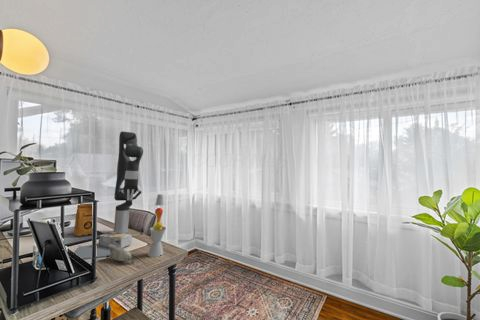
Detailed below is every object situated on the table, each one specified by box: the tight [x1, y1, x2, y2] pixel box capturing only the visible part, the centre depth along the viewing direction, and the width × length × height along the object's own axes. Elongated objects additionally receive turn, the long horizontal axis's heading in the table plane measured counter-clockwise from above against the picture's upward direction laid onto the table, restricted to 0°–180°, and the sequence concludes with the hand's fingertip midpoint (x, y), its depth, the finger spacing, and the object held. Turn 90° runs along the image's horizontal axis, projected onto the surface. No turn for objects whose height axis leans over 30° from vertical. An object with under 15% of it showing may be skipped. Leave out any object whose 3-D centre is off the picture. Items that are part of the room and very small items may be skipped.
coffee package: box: [73, 203, 93, 237], centre depth 151 cm, size 10×12×22 cm
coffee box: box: [98, 231, 133, 249], centre depth 134 cm, size 9×6×16 cm
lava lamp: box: [147, 193, 167, 258], centre depth 126 cm, size 9×9×35 cm
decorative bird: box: [105, 244, 132, 265], centre depth 114 cm, size 5×16×8 cm, turn 68°
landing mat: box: [74, 244, 112, 260], centre depth 124 cm, size 20×22×1 cm
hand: (129, 206), depth 132 cm, fingers closed
